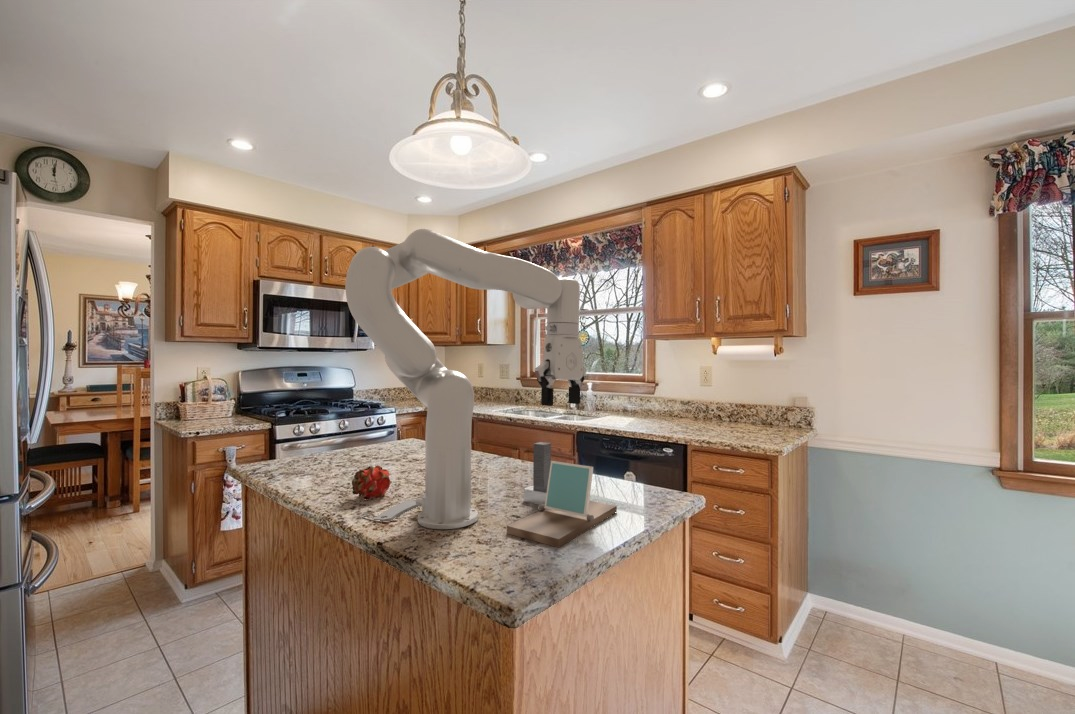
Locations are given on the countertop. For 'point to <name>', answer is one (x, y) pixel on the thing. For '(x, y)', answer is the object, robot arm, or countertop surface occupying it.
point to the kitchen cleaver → (397, 510)
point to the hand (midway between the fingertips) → (561, 404)
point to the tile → (569, 488)
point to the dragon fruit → (371, 482)
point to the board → (559, 524)
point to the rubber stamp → (539, 474)
